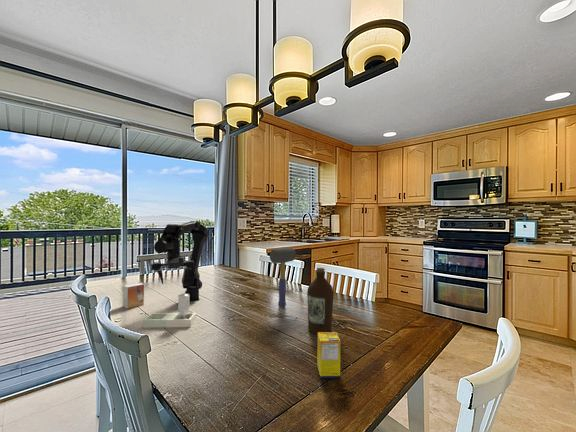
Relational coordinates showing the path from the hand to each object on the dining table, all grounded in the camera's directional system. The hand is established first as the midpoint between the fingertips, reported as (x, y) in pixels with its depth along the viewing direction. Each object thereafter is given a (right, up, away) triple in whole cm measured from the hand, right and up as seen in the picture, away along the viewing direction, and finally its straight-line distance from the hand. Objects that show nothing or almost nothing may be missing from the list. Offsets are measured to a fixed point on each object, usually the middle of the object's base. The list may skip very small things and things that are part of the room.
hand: (173, 283), depth 131 cm
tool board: (+5, -13, -16) cm, 21 cm away
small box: (-22, -13, +6) cm, 26 cm away
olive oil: (+68, -14, -20) cm, 72 cm away
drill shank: (+11, -13, -15) cm, 23 cm away
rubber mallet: (+52, -14, +6) cm, 54 cm away
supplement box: (+67, -15, -50) cm, 85 cm away
